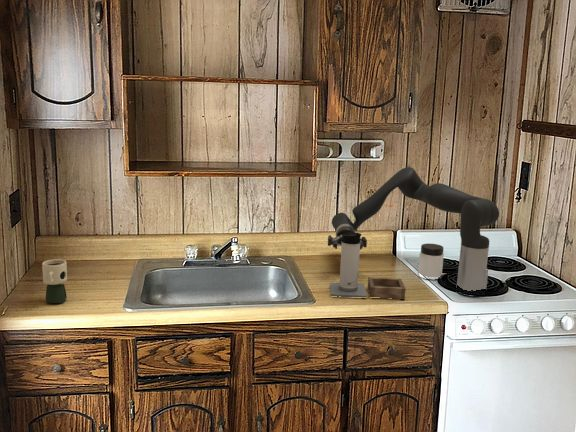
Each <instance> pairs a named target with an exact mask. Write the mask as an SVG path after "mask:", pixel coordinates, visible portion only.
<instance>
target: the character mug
mask: <svg viewBox="0 0 576 432" xmlns="http://www.w3.org/2000/svg"><path fill="white" fill-rule="evenodd" d="M41 264H42V265H41V268H42V282H43V284H46V289H45V302H46V303H50V304H51V303H53V304H61V303H65V302H66V301H67V299H68V296H67V290H66V287H65V284H64V283H66V282H67V281H68V265H67V260H64V259H60V258H56V259H48V260H44V261H43V262H42V263H41Z"/></svg>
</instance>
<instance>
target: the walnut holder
mask: <svg viewBox="0 0 576 432" xmlns="http://www.w3.org/2000/svg"><path fill="white" fill-rule="evenodd" d="M368 290H369V292H368V294H370V296H369V298H370V297H380V298H392V299H405V298H406V287H405V285H404V282H403V280H402V278H396V277H395V278H393V277H391V278H390V277H374V276H371V277H370V276H368V277H367V291H368ZM405 300H406V299H405Z"/></svg>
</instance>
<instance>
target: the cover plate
mask: <svg viewBox="0 0 576 432" xmlns="http://www.w3.org/2000/svg"><path fill="white" fill-rule="evenodd" d="M339 284H340V282H329V289H330V290H329V291H330V292H331V294H330V297H331V296H337V297H339V296H341V297H367V298H368V295H367V290H366V286H365V284H364V283H358V288H357V290H356V291H351V292H349V291H343V290H341V289H340V288H339Z"/></svg>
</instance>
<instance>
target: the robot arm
mask: <svg viewBox="0 0 576 432" xmlns="http://www.w3.org/2000/svg"><path fill="white" fill-rule="evenodd" d="M397 188H398V189H399V191H400V192H401V193H402V195H404V196H405V197H407V198H409V199H413V200H416V201H420V202H422V203H425V204H427V205H429V206H432V207H433V208H435V209H438V210H440V211H444V212H447V213H452V214H453V213H454V214H460V222H459V235H460V248H459V249H460V251H459V260H458V261H459V263H458V271H457V280H456V281H457V282H456V286H457V285H458V286H459V287H460V288H462V289H463V290H467V291H471V290H473V291H476V290H481V289H486V290H487V287H488V286H487V285H488V284H487V283H488V276H489V275H488V274H489V269H488V267H487V266H488V257H489V250H490V238H489V237H487V236H485V235H482V234H481V227H487V226H492V225H493V224H495V223H496V222H497V221H498V219H499V217H500V210H499V208H498V206H497V205H496V203H495V202H493V201H492V200H491V199H489V198H483V197H479V196H474V195H471V194H469V193H466V192H464V191H462V190H459V189H456V188H454V187H452V186H449V185H447V184H444V183H439V182H436V183H433V184H430V185H428V184H426V183H425V182H424V181H423V180H422V179H421V178H420V176H419V174H418V173H417V171H416V170H415V168H413V167H411V166H406V167H403V168H402V169H400V170H398V171H397V172H396V173H395V174H394V175H392V176H391V177H390V178H389V179H388V180H387V181H386V182H385V183H383V185H381V186H380V188H379V189H377V190H376V191H375V192H374V193H373V194H372V195H370V196H369V197H367V198H366V199H365V200H363V201H362V202H360V203H359V204H358V205H356V206H355V207H353V208H352V214H353V217H354V219H355V220H354V221H353V222H352V220H351V219H350V218H349V216H348V215H347V213H344V212H338V213H336V214H334V216H333V217H332V219H331V225H332V227H333V229H334V230H335V237H333V236H332V235H328V238H327V246H328V247H331V246H332V248H333V249H335V250H337V249H338V247H341V246H342V235H343V234H346V233H356V231H357V230H358V228H360V226H361V225H362V224H363V223H365V222H366V221H368V220H369V219H371V218H372V217H373V216H375V215H376V214H377V213H379V212H380V210H381V209H382V207H383V205H384V203H385V201H386V200H387V198H388V196H389V195H390V193H392V192H393V191H394V190H395V189H397ZM367 245H368V240H367V238H366V237H365V236H361V237H360V251H361V250H362V249H363V248H367V247H368V246H367Z"/></svg>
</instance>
